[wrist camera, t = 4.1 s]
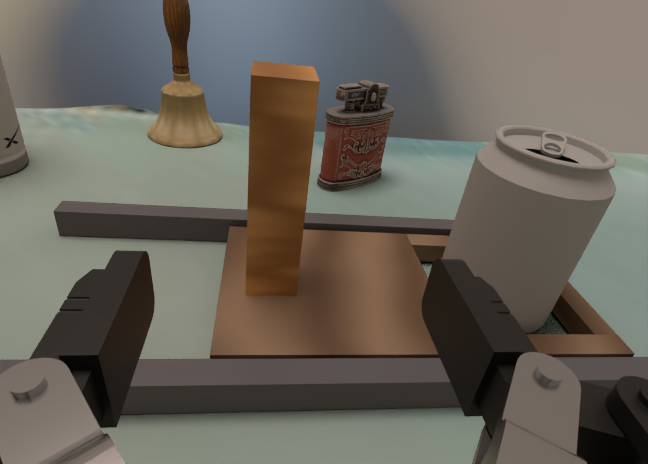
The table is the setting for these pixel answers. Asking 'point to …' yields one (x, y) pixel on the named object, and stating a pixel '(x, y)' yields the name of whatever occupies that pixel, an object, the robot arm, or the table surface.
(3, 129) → the travel mug
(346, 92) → the lighter
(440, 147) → the table surface
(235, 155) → the table surface
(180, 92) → the hand bell
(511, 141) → the can
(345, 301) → the brown post on base
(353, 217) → the rail
